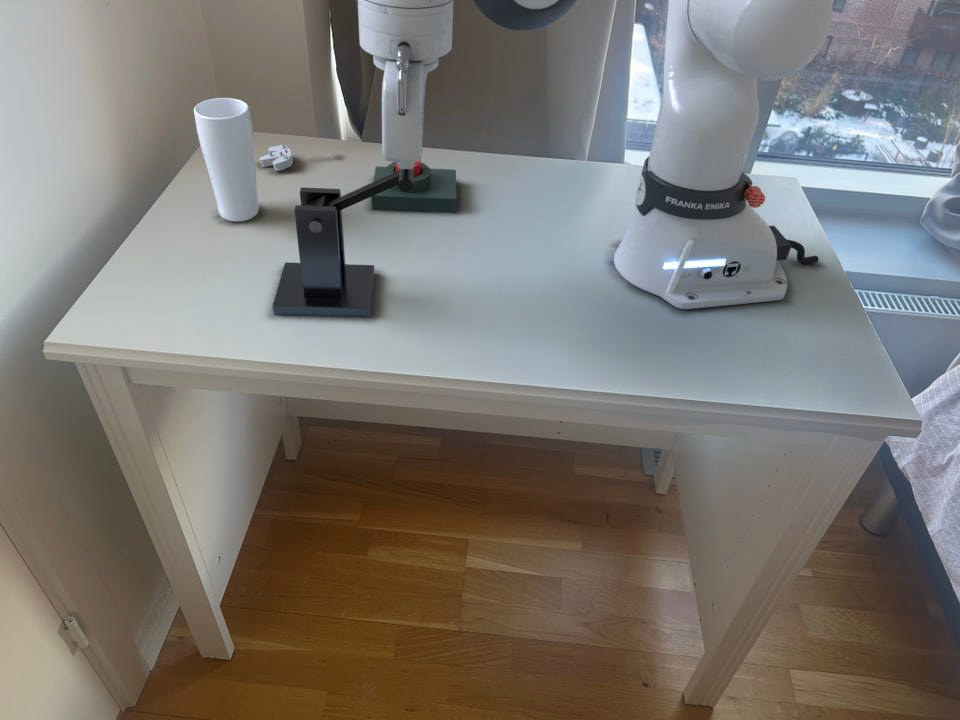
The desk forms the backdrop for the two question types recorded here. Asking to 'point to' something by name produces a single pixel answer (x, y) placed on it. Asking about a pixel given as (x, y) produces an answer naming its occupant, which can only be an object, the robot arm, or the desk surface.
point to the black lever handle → (369, 190)
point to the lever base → (322, 266)
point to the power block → (419, 191)
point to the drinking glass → (229, 155)
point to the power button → (416, 168)
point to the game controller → (278, 157)
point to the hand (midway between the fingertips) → (406, 163)
